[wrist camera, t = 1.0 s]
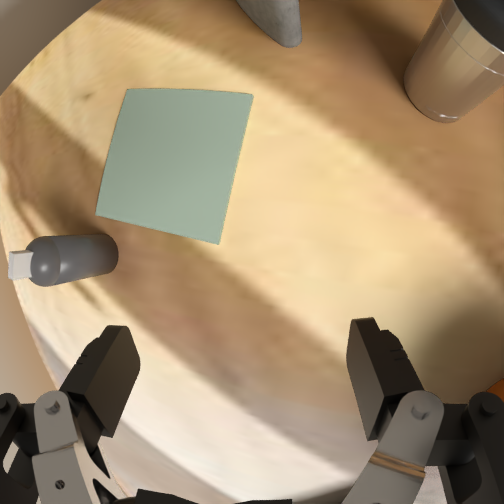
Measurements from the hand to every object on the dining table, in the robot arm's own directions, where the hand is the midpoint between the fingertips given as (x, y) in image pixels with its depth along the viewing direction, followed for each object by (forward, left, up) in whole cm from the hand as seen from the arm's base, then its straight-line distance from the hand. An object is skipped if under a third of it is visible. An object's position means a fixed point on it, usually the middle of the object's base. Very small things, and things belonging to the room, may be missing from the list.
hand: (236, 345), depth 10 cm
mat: (-10, -17, -24) cm, 31 cm away
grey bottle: (+4, -24, -24) cm, 34 cm away
